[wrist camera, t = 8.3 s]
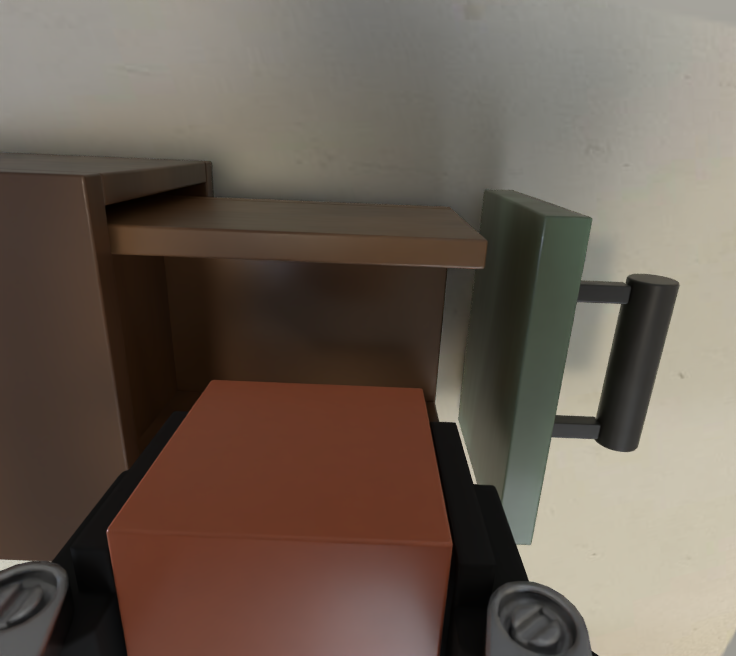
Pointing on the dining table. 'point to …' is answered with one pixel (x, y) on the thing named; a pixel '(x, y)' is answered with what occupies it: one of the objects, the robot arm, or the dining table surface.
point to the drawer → (383, 315)
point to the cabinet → (66, 338)
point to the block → (288, 528)
